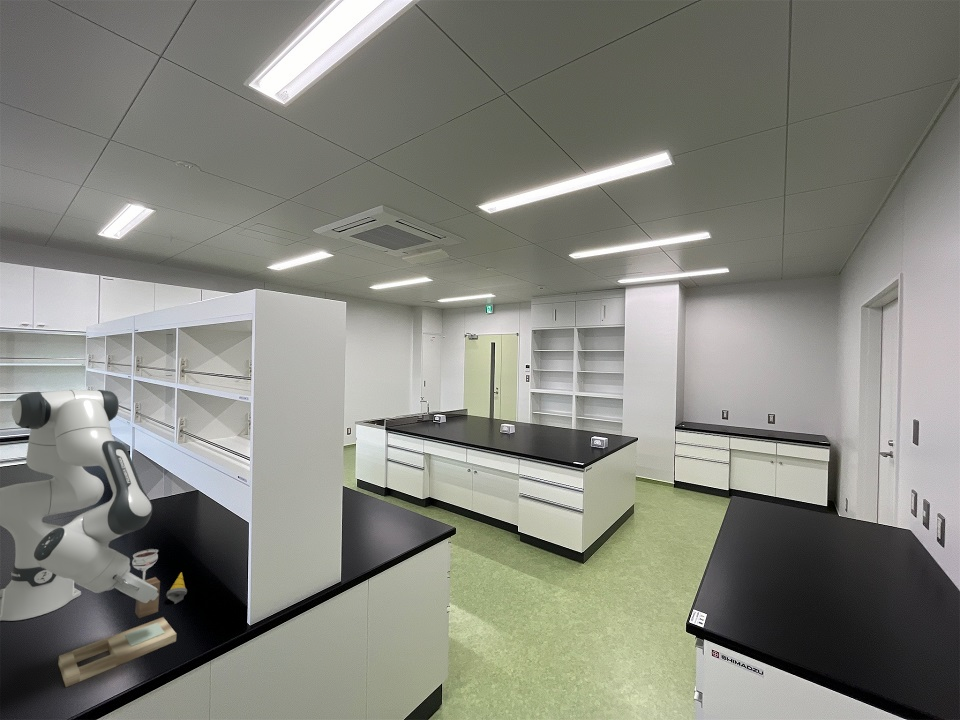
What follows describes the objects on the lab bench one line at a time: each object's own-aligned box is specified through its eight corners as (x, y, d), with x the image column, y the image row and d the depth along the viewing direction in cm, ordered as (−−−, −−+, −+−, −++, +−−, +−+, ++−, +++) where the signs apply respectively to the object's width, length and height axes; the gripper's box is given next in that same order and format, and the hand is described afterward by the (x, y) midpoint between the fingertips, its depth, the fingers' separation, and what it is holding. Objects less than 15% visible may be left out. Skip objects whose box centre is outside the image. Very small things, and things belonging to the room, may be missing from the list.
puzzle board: (58, 663, 98) (59, 654, 98) (162, 624, 115) (163, 616, 115) (65, 687, 91) (66, 677, 91) (176, 641, 107) (176, 632, 108)
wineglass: (144, 583, 137) (147, 548, 137) (161, 585, 136) (163, 550, 136) (124, 593, 130) (127, 556, 131) (141, 595, 129) (144, 558, 130)
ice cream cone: (160, 607, 124) (167, 574, 131) (178, 608, 127) (184, 576, 134) (170, 599, 122) (177, 567, 129) (188, 600, 126) (194, 569, 133)
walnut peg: (135, 612, 107) (137, 582, 107) (153, 606, 110) (155, 577, 110) (139, 618, 104) (141, 587, 105) (157, 611, 107) (160, 581, 108)
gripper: (136, 569, 97) (179, 592, 105) (103, 550, 107) (144, 573, 115) (111, 596, 93) (158, 617, 101) (79, 574, 103) (124, 595, 111)
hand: (150, 593), depth 108 cm, fingers closed on walnut peg, 4 cm apart
